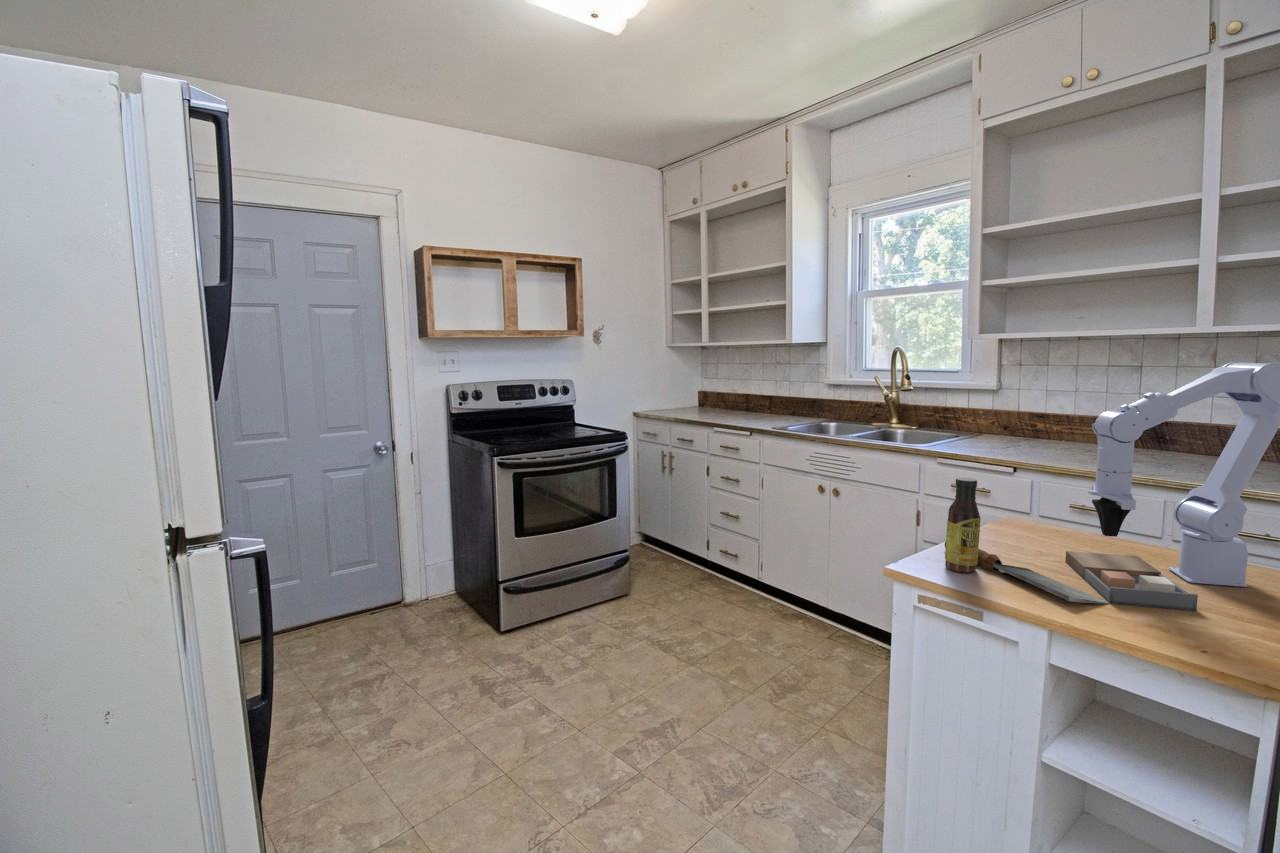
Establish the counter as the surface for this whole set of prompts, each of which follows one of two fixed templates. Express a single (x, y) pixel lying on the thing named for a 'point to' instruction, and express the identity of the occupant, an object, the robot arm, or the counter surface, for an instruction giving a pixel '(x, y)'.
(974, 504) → the sauce bottle
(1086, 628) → the counter surface
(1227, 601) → the counter surface
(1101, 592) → the charcoal tray
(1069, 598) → the meat cleaver
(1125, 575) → the peach matte cube
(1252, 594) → the counter surface
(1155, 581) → the pale grey cube
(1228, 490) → the robot arm
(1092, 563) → the walnut board
